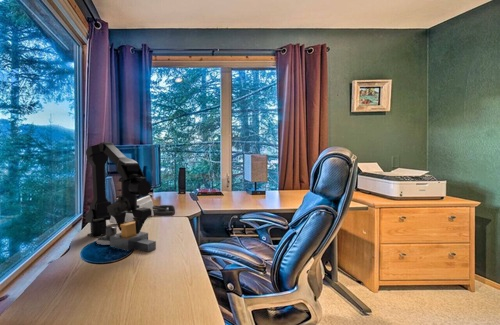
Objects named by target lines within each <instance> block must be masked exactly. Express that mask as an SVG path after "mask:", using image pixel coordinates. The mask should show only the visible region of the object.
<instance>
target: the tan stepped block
mask: <svg viewBox="0 0 500 325" xmlns="http://www.w3.org/2000/svg"><path fill="white" fill-rule="evenodd" d="M120 227H121V231H120V233H121V236H122V237H130V236H133V235H136V225H135V220H133V221H130V222H124V224H121V225H120Z"/></svg>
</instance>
